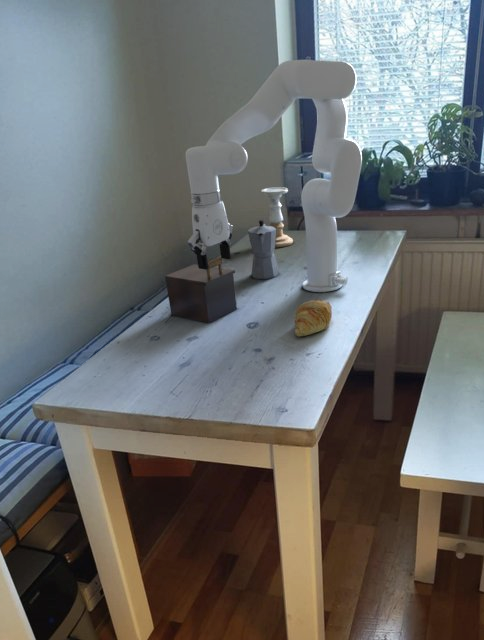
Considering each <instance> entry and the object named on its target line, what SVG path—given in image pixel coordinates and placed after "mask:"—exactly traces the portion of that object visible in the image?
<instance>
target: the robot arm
mask: <svg viewBox="0 0 484 640" xmlns="http://www.w3.org/2000/svg"><path fill="white" fill-rule="evenodd" d="M356 85H357V73H356V70H355V69H354V67H353V65H352V64H350V63H349V62H347V61H344V60H343V61H342V60H337V61H336V60H314V59H295V60H294V59H293V60H292V59H291V60H285V61H283V62H281V63H280V64H278V65H277V66H276V67H275V69H274V70H273V71H272V72H271V74H270V75H269V76H268V78H266V80H265V82H264V83H262V85H261V86H260V87H259V89H258V90H257V92H256V93H255V94H254V95H253V96H252V97H251V99H250V100H249V101H248V102H247V103H246V104H244V105H243V106H242V107H240V108H239V109H238V110H237V111H236V112H235V113H233V114H232V115H231V116H229V118H226V120H225V121H223V123H221V124H220V126H219V127H218V128H217V129H216V131H214V133H213V134H212V135H211V136H210V138H209V139H208V141H207V142H206V144H205V145H199V146H192V147H189V148H188V149H186V151H185V161H186V163H185V164H186V168H187V175H188V176H187V177H188V183H189V188H190V195H191V196H190V197H191V199H190V202H191V204H192V207H191V223H192V224H191V225H192V235H191V236H190V237H189V239H188V240H187V244H188V246H189V248H190V250H191V251H192V252H193V254H194V255H196V260H197V261H196V262H197V265H198V268H199V269H205V270H207V269H208V262H209V261H208V256H207V253H206V251H207V248H208V247H212V246H215V245H217V244H219V252H220V258H222V260H231V259H232V256H231V255H232V254H231V248H230V245H231V243H232V242H231V239H232V236H233V228H234V226H233V225H232V224H230V223H229V221H228V215H227V212H226V208H225V204H224V201H223V200H221V199H222V198H221V193H220V192H221V191H220V183H219V176H223V175H237V174H239V173H241V172H242V171H243V170H245V168H246V167H247V164H248V159H249V157H248V153H247V151H246V149H245V147H244V146H242V145H243V144H244V143H245V142H247V141H248V140H250V139H252V138H254V137H257V136H260V135H262V134H264V133H266V132H268V131H270V130H271V129H272V128H274V127H275V126H276V125H277V123H278V122H279V120H280V119H281V118H282V116H283V115H284V114H285V113H286V112H287V110H288V109H289V107H291V105H292V104H293V103H294V101H296V100H298V99H304V100H305V99H309V100H310V99H311V101H312V102H313V104H314V106H315V110H316V116H317V117H316V119H317V121H316V129H315V135H314V142H313V148H312V153H311V163H312V167H313V169H314V170H315V171H316V172H318V173H321V174H324V175H330V179H329V178H321V177H320V178H319V177H318V178H317V177H316V178H312V179H310V180H308V181H307V182H306V183H305V184H304V186H303V188H302V190H301V196H300V200H301V201H300V202H301V207H302V212H303V216H304V217H303V218H304V227H305V249H306V250H305V251H306V253H305V255H306V274H307V275H306V277H307V278H306V279H305V280H304V281H303V282H302V288H303V289H304V290H306V291H307V292H313V293H328V292H334V291H336V290H339V289H340V288H342V287H343V286H346V285H347V284H348V278H349V277H347V276H342V275H341V271H340V270H338V224H337V220H336V218H337V219H340V218H341V219H342V218H344V217H346V216H347V215H348V214H349V213H350V212H351V211H352V209H353V207H354V204H355V200H356V196H357V191H358V187H359V182H360V181H359V180H360V175H361V171H362V165H363V156H362V155H363V154H362V150H361V148H360V145H359V144H358V142H356V141H355V140H353V139H352V138H347V128H348V119H349V118H348V117H349V115H348V109H347V105H346V102H345V100H344V99H347V98H349V97H350V96H351V95H352V93H354V91H355V88H356Z"/></svg>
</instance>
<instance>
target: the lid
mask: <svg viewBox="0 0 484 640" xmlns="http://www.w3.org/2000/svg"><path fill="white" fill-rule="evenodd" d="M223 263H224V259H222V258H221V256H219V257H217V258H214V259H212V260H209V261H208V269H207V270H205V269H199V268H198V263H197V264H195V263H193V264H191V265H188V266H186V267H184V268H181V269H179V270H176V271H173V272H171V273H168V274H166V275H164V278H165V280H166V279H171V280H177V281H183V282H189V283H195V284H201V285H208V284H211V283H213V282H215V281H218V280H220V279H222V278H224V277H227V276H229V275H231V274H233V275H234V274H235V273H236V270H235V269H230V268H225V267H222V264H223Z"/></svg>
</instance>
